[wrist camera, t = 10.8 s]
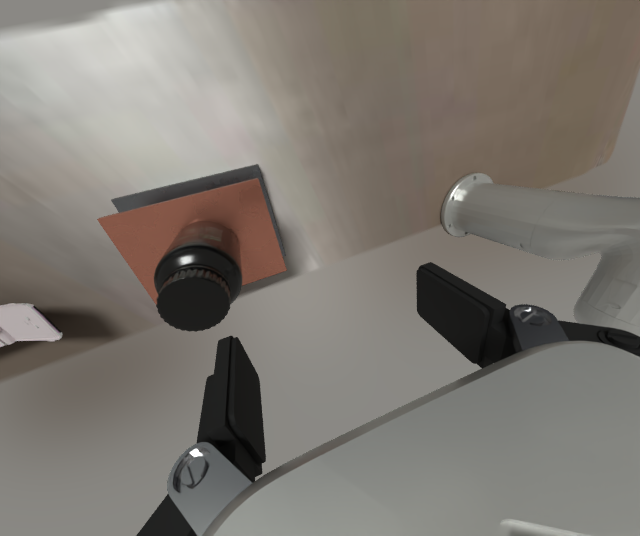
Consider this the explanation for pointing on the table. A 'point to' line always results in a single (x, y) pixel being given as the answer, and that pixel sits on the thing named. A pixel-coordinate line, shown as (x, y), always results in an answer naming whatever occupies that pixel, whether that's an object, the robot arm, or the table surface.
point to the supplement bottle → (198, 276)
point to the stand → (192, 206)
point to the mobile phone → (25, 324)
